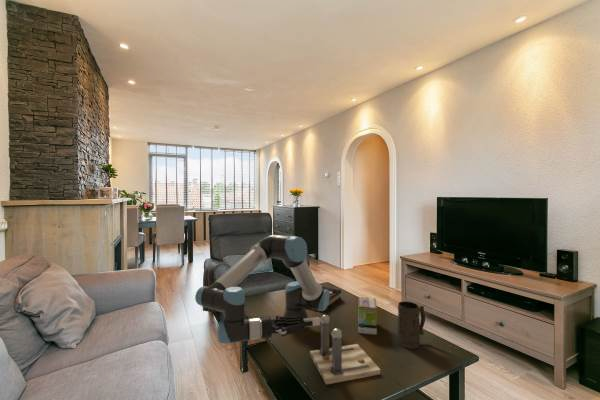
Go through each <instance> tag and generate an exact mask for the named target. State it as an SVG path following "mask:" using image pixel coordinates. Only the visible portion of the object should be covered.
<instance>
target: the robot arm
mask: <svg viewBox="0 0 600 400" xmlns="http://www.w3.org/2000/svg"><path fill="white" fill-rule="evenodd" d="M307 256H308V245H307V242H306V241H305V240H304V239H303V237H300V236H296V235H285V234H283V235H282V234H271V235H268V236H265V237H264V238H261V239H259V240H258V241H257V242H255V243H254V244H253V245H252V246H251V247H250V249H249V251H248V252H247V253H246V254H245V255H244V256H242V257H240V259H239V260H238V261H237V262H236V263H235V264H233V265H232V266H231V267H230V268H229V269H227V270H226V271H225V272H224V273H223V274H222V275H221V276H220V277H218V278H217V279H216V280H215V281H213V283H212V284H211V285H209V286H208V285H206V286H205V285H204V286H201V287H199V288H198V289H197V290H196V293H195V297H194V298H195V299H194V300H195V302H196V304H197V305H199V306H201V307H203V308H208V309H210V310H214V311H218V312H220V313H223V320H222V321H219V322H218V323H217V325H218V326H217V327H218V329H217V331H218V332H217V333H218V334H217V338H218V342H219V344H233V343H239V342H245V341H253V342H254V340H260V339H263V340H264V339H268V338H269V339H271V338H272V336H273V334H277V335H278V334H280V335H281V337H285V336H287V335H291V334H295V333H299V332H303V331H305V328H308V327H315V326H321V322H320V317H319V316H314V317H309V316H308V313H307V309H312V310H314V311H315V310H316V311H319V312H325V311H326V310H325V309H326V308H327V306H328V303H329V298H330V293H329V291H328V290H326V289H323V288H322V287H323V285H322V284H321V283H320V282H318V281H316V278H315V276H314V274H313V273H312V272H313V271H312V270H311V269H310V266H309V265H308V263H307V260H306V258H307ZM269 259H273V260H281V261H282V263H283V264H284V266H285V267H286V268H288V269H290V271H291V272H292V274H293V275H294V277H295V280H296V281H295V280H294V281H291V282H288V283H286V285H285V290H284V291H285V292H284V293H285V294H284V295H285V309H284V313H283V316H280V315H276V316H275V319H274V318H273V319H272V318H271V316H261V317H258V316H257V317H252V318H245V311H246V310H245V309H246V308H245V302H246V298H245V289H243V288H242V287H241V286H238V285H239V284H241V282H242V281H244V280H245V279H246V278H247V277H248V276H249V275H250V274H251V272H253V271H254V270H255V269H256V267H258V266H259V265H260V264H262V263H265V262H266V261H267V260H269ZM306 308H307V309H306ZM324 310H325V311H324Z"/></svg>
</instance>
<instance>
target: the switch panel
mask: <svg viewBox="0 0 600 400" xmlns="http://www.w3.org/2000/svg"><path fill="white" fill-rule="evenodd" d="M329 351H330V352H331V355H325V356H322V355H321V353H320V351H319V349H315V350H310V351H309V356H310V358H311V360H312V361H313V364H314V365H315V366H316V369H317V371H318V372H319V374H320V376H321V378H322V380H323V382H324V384H325V385H331V384H336V383H342V382H346V381H351V380H356V379H357V380H358V379H362V378H368V377H373V376H378V375H381V369H380V367H379V366H378V365H377V364H376V363H375V362H374V361H373V359H372V358H371V357H370V356H369V355H368V354H367V353H366V352H365V351H364V349H363V348H362V347H360V345H359V344H358V343H355V344H347V345H342V370H343V373H342V374H337V375H334V374H333V372H332V371H331V369H330V367H332V347H329Z"/></svg>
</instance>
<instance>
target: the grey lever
mask: <svg viewBox="0 0 600 400" xmlns="http://www.w3.org/2000/svg"><path fill="white" fill-rule="evenodd" d="M319 318H320V348H319V349H318V350H319V351H320V353H321V355H322V356H325V355H331V352H330V351H329V348H330V322H331V321H330V320H331V319H330V316H329V315H327V314H322V315H321V316H320V317H319Z"/></svg>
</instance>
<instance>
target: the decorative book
mask: <svg viewBox="0 0 600 400" xmlns="http://www.w3.org/2000/svg"><path fill="white" fill-rule="evenodd" d="M322 288H323V289H326V290H328V291H329V293H330V298H329V303H328V306H327V308H326V309H325V310H324V311H323V312H325V311H327V310H328V309H329V308H331V307H332V306H334V305H336V303H338V302H339V301H340V300H342V297H340V296H341V293H342V290H340V289H335V288H331V287H326V286H322Z"/></svg>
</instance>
